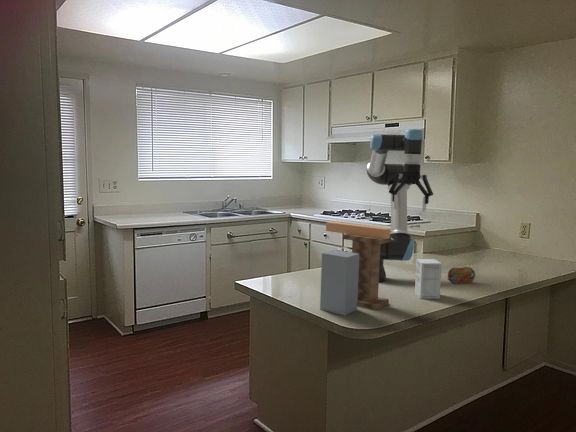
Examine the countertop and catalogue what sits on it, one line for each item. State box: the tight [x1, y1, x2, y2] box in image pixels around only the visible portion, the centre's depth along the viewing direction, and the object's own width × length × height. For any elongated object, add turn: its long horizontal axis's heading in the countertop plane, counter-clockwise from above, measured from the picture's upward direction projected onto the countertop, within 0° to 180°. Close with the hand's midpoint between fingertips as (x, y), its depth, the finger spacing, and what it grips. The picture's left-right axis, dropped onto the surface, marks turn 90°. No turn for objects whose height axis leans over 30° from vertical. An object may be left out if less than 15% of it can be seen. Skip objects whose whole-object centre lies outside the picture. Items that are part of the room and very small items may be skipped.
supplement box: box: [414, 258, 443, 300], centre depth 225 cm, size 10×9×17 cm
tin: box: [447, 266, 476, 285], centre depth 252 cm, size 15×3×8 cm, turn 105°
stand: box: [342, 233, 391, 311], centre depth 212 cm, size 18×12×30 cm, turn 52°
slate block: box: [319, 249, 359, 316], centre depth 202 cm, size 12×10×24 cm
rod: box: [325, 221, 391, 239], centre depth 213 cm, size 30×4×4 cm, turn 52°
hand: (409, 209), depth 223 cm, fingers open, 13 cm apart
